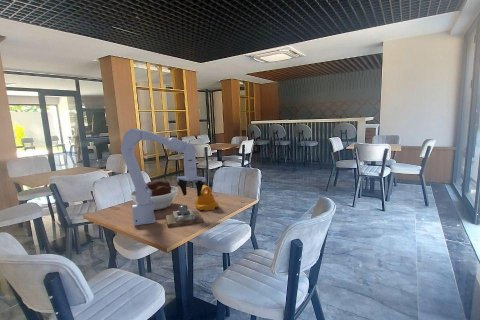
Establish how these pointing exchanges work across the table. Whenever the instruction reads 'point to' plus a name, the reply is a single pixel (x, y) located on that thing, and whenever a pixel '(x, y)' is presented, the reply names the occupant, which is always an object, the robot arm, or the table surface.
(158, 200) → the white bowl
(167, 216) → the nut plate
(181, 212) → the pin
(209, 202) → the bracket
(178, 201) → the table surface
